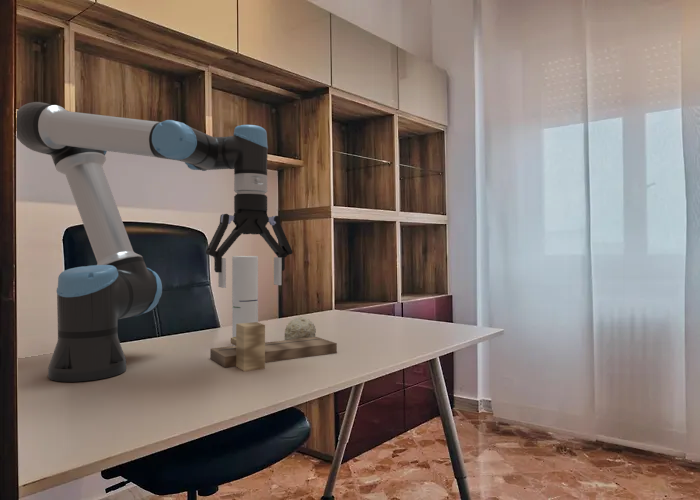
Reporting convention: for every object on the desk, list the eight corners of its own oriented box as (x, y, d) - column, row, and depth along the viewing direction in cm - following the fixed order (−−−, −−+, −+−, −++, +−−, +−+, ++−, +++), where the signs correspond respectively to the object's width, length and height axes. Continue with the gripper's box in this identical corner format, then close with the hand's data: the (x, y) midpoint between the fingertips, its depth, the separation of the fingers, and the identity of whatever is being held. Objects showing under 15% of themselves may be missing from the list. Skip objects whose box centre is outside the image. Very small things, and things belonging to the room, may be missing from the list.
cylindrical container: (255, 346, 140) (255, 256, 140) (229, 346, 140) (229, 256, 140) (260, 341, 147) (260, 256, 147) (235, 341, 147) (235, 256, 147)
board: (225, 367, 116) (225, 356, 116) (210, 358, 125) (210, 348, 125) (336, 352, 132) (336, 342, 132) (316, 345, 141) (316, 336, 141)
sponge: (317, 356, 146) (320, 325, 152) (312, 342, 138) (316, 310, 144) (285, 355, 147) (290, 324, 153) (279, 341, 139) (284, 309, 145)
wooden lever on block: (244, 371, 112) (244, 326, 112) (223, 359, 124) (223, 318, 124) (264, 368, 115) (265, 324, 115) (242, 357, 127) (242, 317, 127)
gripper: (202, 189, 106) (202, 289, 106) (306, 195, 120) (306, 284, 120) (191, 192, 112) (191, 287, 112) (291, 198, 126) (291, 282, 126)
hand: (250, 286), depth 116 cm, fingers open, 13 cm apart
